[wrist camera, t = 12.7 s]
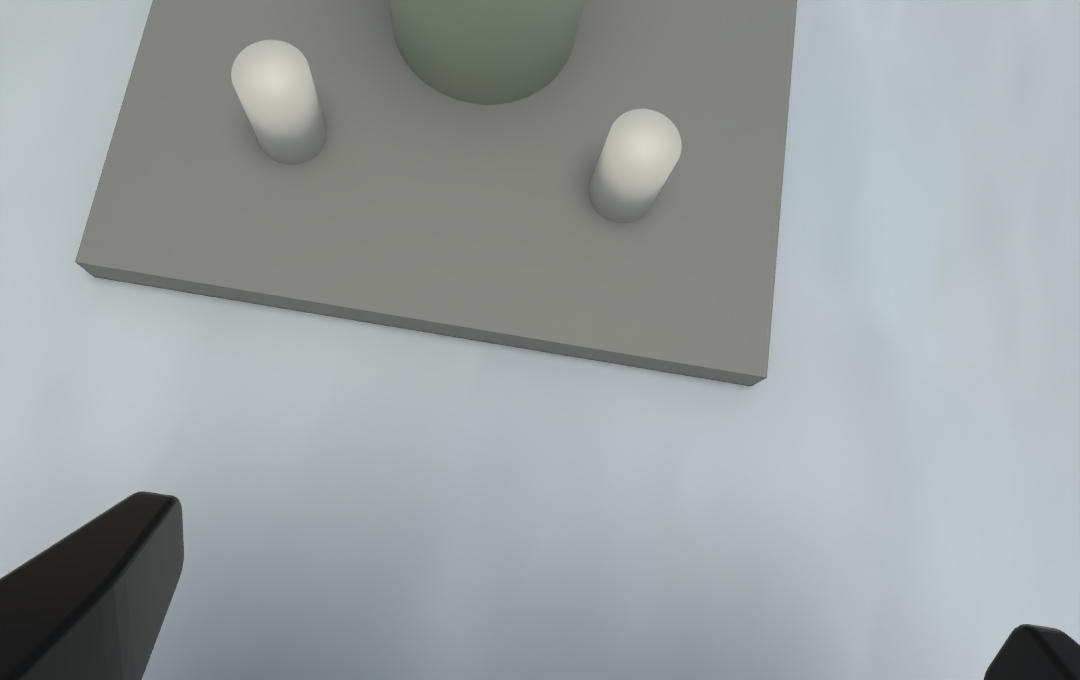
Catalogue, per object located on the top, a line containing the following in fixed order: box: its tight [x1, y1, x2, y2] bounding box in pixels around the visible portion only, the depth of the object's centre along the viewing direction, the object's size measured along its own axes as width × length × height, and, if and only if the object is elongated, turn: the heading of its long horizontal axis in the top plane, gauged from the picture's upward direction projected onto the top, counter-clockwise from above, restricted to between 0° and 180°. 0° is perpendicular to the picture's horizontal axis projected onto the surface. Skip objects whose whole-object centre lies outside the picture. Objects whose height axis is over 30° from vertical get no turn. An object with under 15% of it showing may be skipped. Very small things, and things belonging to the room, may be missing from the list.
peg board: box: [75, 0, 797, 386], centre depth 24 cm, size 18×18×4 cm
